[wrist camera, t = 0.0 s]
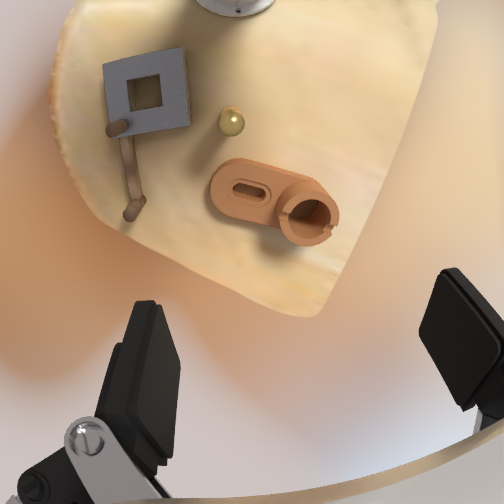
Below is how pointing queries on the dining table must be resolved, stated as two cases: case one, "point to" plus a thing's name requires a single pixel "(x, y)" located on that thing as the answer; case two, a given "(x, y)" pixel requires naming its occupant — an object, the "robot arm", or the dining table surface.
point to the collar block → (172, 90)
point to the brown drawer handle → (128, 169)
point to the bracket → (274, 200)
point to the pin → (231, 121)
